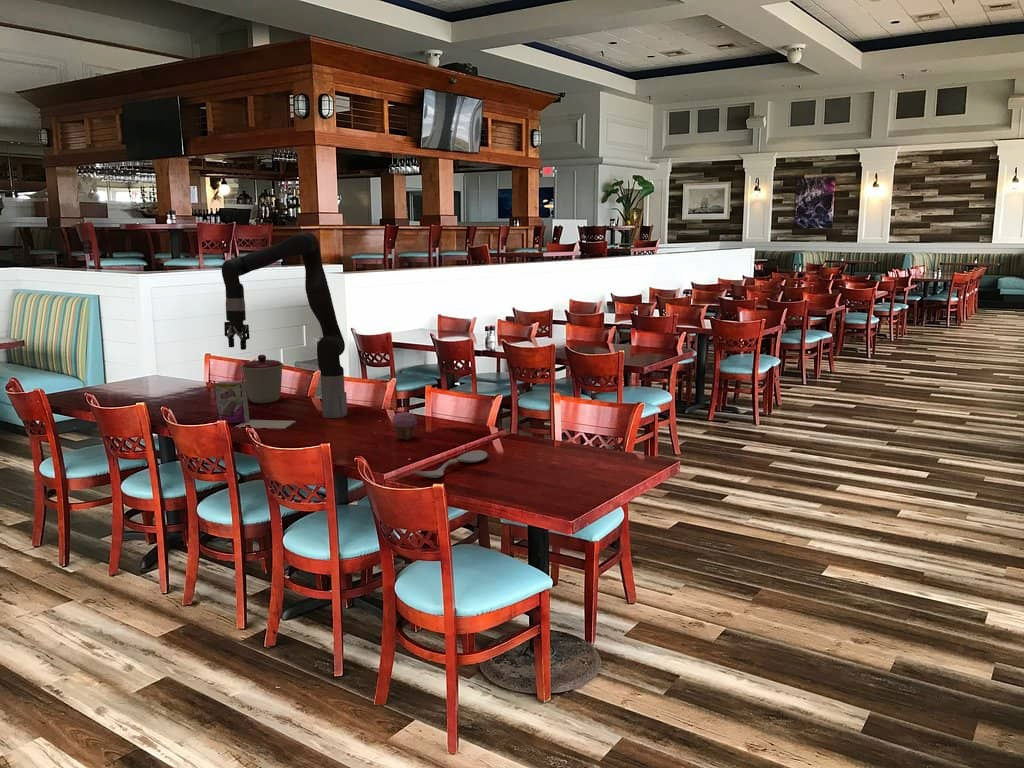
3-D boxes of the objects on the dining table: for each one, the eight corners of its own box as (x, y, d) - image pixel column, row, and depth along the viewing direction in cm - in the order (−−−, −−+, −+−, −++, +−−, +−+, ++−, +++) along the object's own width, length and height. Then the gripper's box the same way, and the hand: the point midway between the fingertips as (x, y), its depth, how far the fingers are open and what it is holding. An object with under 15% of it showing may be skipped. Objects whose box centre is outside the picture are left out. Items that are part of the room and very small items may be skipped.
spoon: (411, 480, 251) (411, 469, 250) (470, 455, 278) (470, 445, 277) (435, 485, 246) (435, 474, 246) (493, 459, 273) (492, 449, 272)
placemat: (296, 421, 328) (296, 420, 328) (284, 429, 316) (284, 428, 316) (248, 420, 330) (248, 419, 330) (234, 427, 318) (234, 426, 318)
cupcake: (410, 442, 295) (409, 415, 293) (388, 440, 298) (387, 413, 296) (421, 436, 303) (420, 410, 301) (400, 434, 306) (399, 408, 304)
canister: (242, 406, 356) (238, 358, 352) (245, 398, 374) (241, 352, 370) (285, 404, 361) (282, 356, 357) (286, 396, 378) (283, 351, 374)
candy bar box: (218, 424, 325) (213, 383, 322) (223, 421, 330) (218, 381, 327) (245, 423, 323) (240, 382, 320) (250, 420, 328) (245, 380, 325)
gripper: (217, 308, 335) (219, 347, 338) (237, 311, 326) (239, 351, 329) (233, 306, 341) (235, 345, 344) (253, 309, 332) (255, 349, 335)
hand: (237, 348), depth 337 cm, fingers open, 8 cm apart
